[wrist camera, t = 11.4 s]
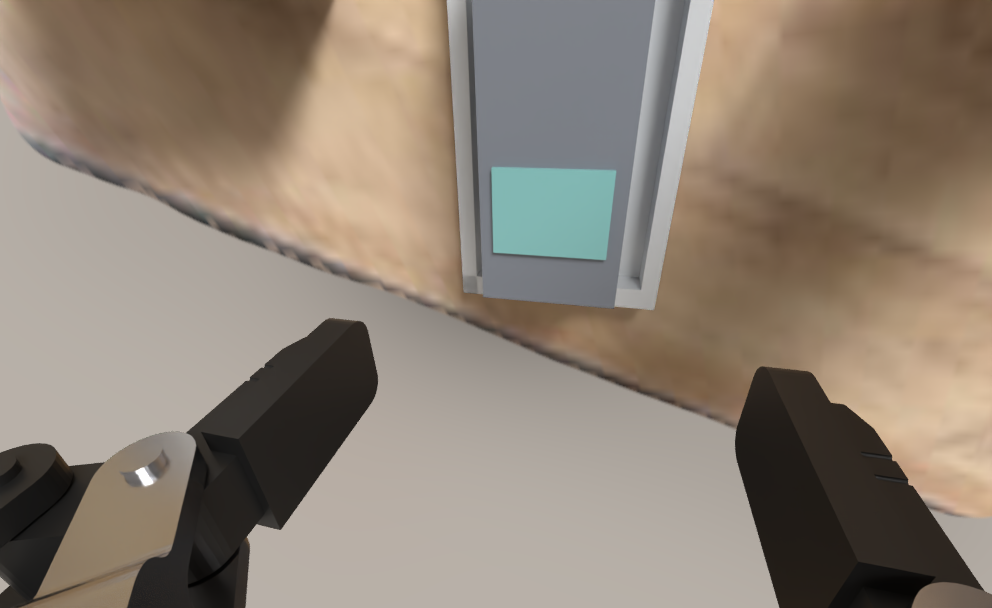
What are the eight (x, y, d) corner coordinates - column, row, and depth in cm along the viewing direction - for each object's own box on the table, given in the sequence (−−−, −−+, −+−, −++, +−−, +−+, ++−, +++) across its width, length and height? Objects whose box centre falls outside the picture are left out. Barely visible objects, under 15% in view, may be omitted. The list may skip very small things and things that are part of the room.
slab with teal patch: (655, -108, 15) (683, -203, 9) (611, 248, 21) (614, 311, 16) (511, -95, 16) (463, -173, 10) (511, 242, 22) (481, 299, 17)
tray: (743, -218, 13) (763, -258, 12) (650, 291, 22) (654, 310, 21) (453, -181, 15) (434, -211, 14) (473, 276, 24) (463, 292, 22)
